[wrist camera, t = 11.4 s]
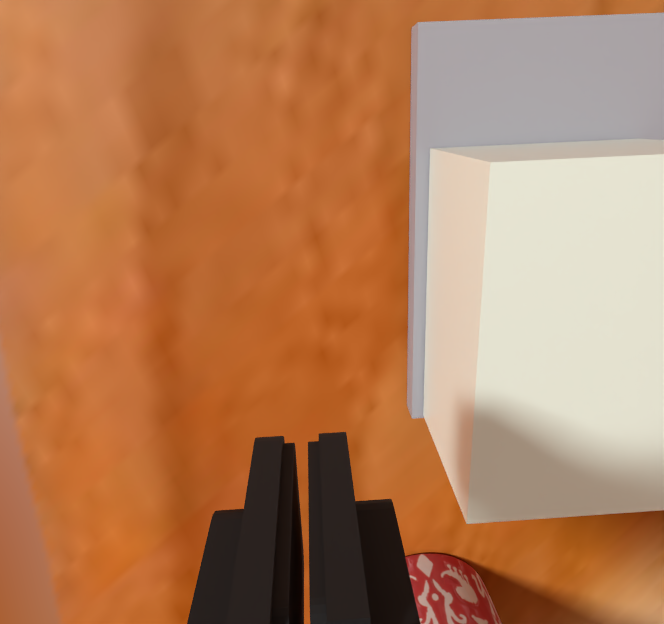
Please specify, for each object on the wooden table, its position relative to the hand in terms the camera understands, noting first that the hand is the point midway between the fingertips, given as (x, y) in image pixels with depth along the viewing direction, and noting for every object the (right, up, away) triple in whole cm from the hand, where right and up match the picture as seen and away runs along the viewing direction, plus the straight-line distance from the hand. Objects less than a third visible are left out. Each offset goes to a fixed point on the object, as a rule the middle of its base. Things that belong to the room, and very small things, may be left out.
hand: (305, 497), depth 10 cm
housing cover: (+8, +5, +11) cm, 15 cm away
